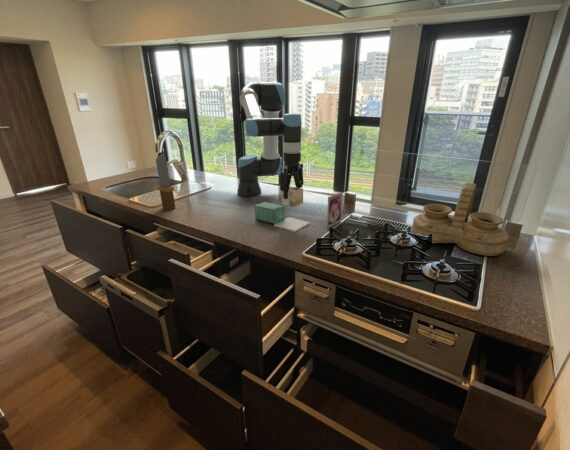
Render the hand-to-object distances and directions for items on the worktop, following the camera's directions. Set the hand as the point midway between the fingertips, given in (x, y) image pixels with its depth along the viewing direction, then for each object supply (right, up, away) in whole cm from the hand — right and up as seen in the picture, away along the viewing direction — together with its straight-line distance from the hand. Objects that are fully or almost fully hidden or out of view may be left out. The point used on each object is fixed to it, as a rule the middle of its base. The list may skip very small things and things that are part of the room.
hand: (292, 203), depth 136 cm
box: (-10, -8, +10) cm, 16 cm away
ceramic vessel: (+66, -17, -13) cm, 70 cm away
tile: (0, -10, +4) cm, 11 cm away
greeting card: (+18, -10, +6) cm, 21 cm away
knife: (-67, -1, +28) cm, 73 cm away
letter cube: (0, 0, 0) cm, 0 cm away
